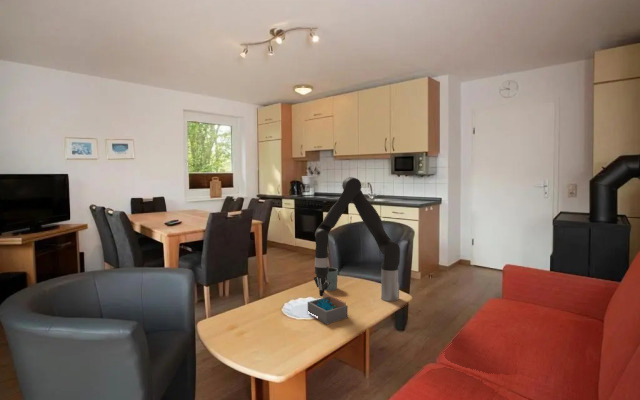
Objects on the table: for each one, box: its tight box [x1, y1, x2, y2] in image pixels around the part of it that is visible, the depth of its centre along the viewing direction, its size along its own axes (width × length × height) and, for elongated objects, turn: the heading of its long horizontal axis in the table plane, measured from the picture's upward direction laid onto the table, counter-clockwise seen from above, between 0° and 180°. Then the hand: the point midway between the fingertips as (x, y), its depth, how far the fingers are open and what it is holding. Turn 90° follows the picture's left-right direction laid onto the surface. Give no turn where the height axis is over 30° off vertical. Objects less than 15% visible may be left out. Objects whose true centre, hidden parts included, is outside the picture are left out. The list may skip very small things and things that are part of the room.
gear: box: [317, 299, 336, 311], centre depth 176 cm, size 11×6×10 cm
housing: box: [307, 297, 348, 325], centre depth 174 cm, size 13×16×6 cm
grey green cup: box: [324, 267, 339, 292], centre depth 215 cm, size 10×10×12 cm
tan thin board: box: [322, 292, 347, 309], centre depth 182 cm, size 1×18×6 cm, turn 35°
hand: (321, 296), depth 191 cm, fingers closed
